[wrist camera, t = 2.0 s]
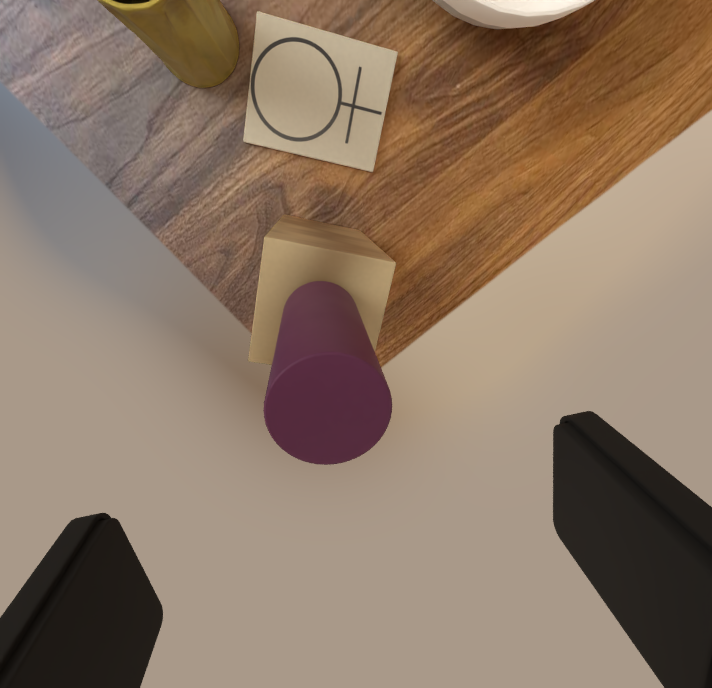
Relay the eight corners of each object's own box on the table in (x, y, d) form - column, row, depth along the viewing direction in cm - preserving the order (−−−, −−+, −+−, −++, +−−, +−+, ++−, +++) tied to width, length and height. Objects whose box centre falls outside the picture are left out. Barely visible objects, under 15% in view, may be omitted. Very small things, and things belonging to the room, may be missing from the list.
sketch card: (244, 142, 34) (242, 141, 34) (258, 14, 31) (256, 10, 31) (372, 172, 36) (373, 172, 36) (396, 53, 33) (398, 51, 33)
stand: (272, 290, 39) (247, 361, 23) (283, 214, 37) (264, 236, 21) (345, 302, 40) (368, 379, 24) (360, 230, 38) (396, 262, 22)
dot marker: (278, 341, 23) (255, 458, 13) (289, 270, 22) (273, 342, 12) (348, 352, 24) (376, 471, 14) (363, 284, 22) (406, 363, 13)
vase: (222, 104, 33) (165, 50, 20) (145, 61, 32) (27, -29, 18) (251, 23, 32) (210, -94, 18) (171, -27, 30) (63, -194, 17)
